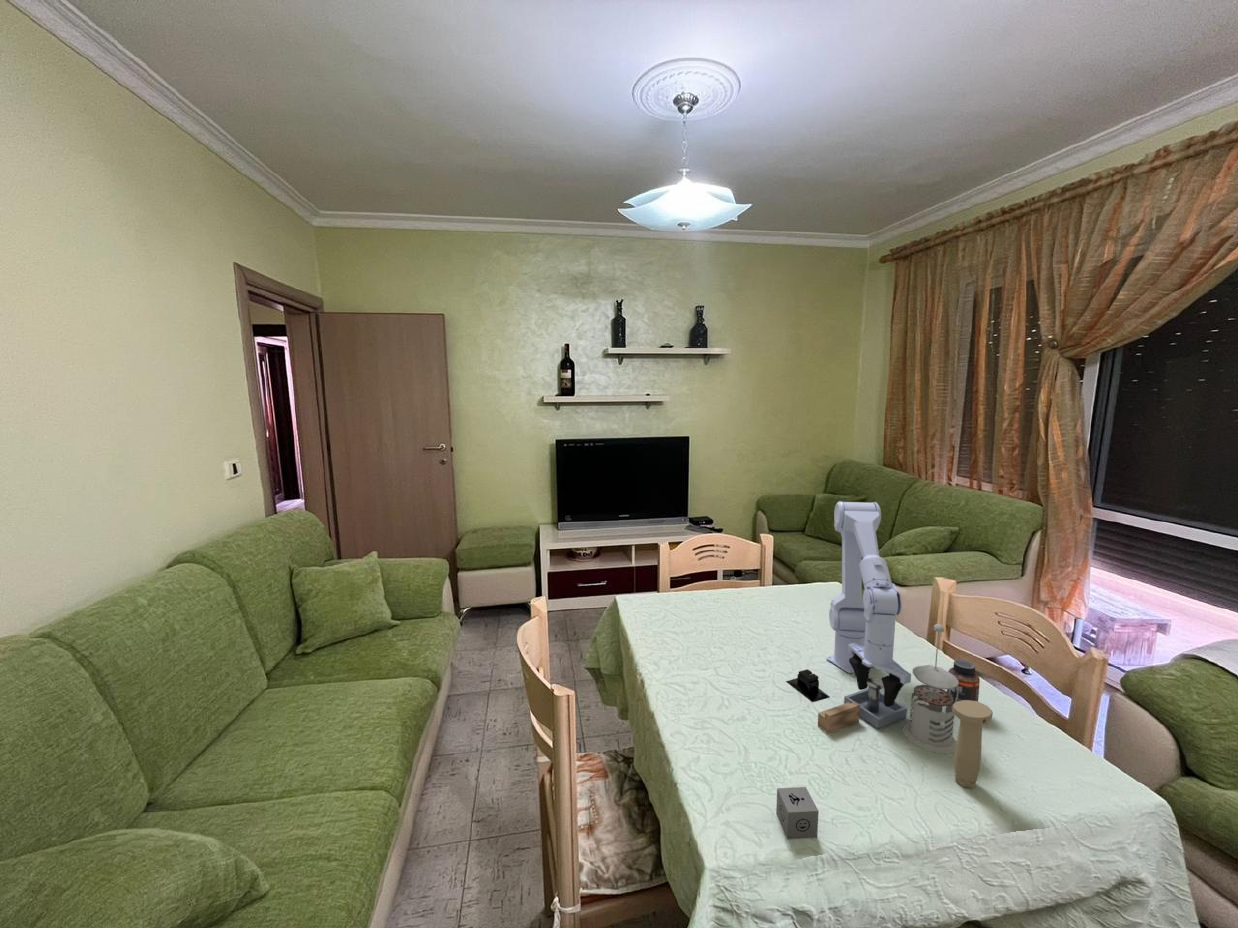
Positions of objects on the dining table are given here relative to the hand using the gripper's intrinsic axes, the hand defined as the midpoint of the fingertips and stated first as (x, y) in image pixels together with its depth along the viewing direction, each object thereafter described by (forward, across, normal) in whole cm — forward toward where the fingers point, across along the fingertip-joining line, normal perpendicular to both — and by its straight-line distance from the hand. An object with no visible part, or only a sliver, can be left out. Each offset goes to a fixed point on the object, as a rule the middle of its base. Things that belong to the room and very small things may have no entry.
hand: (875, 696), depth 113 cm
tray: (+4, 0, 0) cm, 4 cm away
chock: (+4, 0, -10) cm, 11 cm away
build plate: (+5, -13, -7) cm, 16 cm away
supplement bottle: (+4, +8, +18) cm, 20 cm away
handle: (+4, +22, -2) cm, 22 cm away
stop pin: (+3, 0, 0) cm, 3 cm away
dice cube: (+4, +16, -38) cm, 41 cm away
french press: (+4, +10, +4) cm, 12 cm away
